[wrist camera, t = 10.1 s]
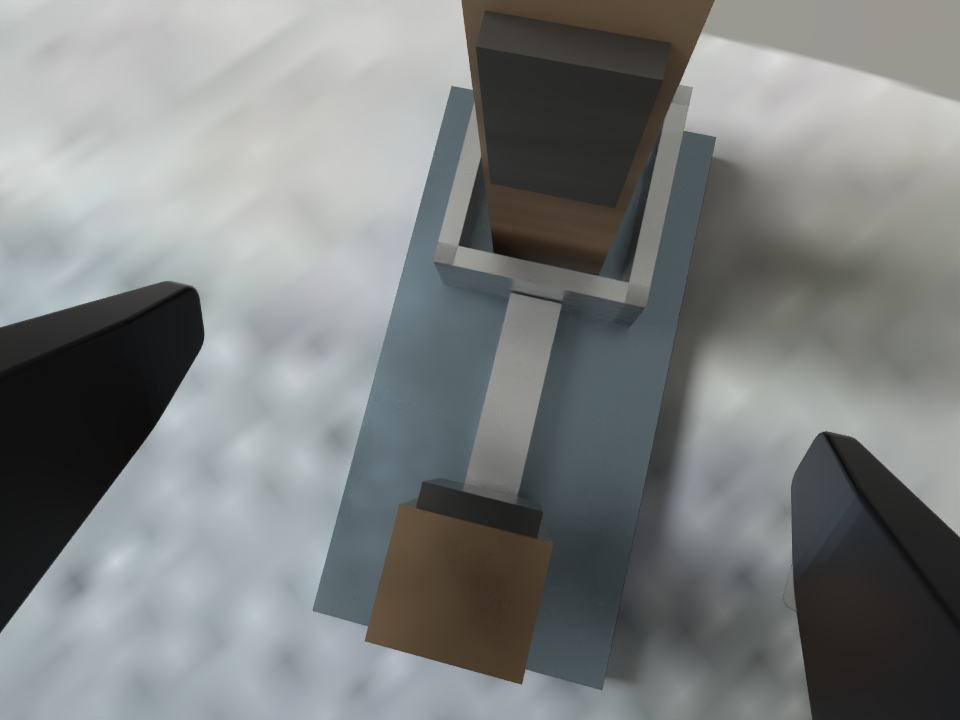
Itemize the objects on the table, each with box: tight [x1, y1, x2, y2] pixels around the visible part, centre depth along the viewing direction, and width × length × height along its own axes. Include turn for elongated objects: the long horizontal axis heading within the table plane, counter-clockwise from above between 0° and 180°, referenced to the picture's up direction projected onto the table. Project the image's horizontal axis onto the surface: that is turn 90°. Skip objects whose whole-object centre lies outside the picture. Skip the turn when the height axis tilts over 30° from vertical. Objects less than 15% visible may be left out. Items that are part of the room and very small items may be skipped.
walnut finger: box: [462, 0, 714, 274], centre depth 15 cm, size 5×4×14 cm
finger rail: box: [313, 85, 716, 690], centre depth 19 cm, size 18×9×7 cm, turn 166°
